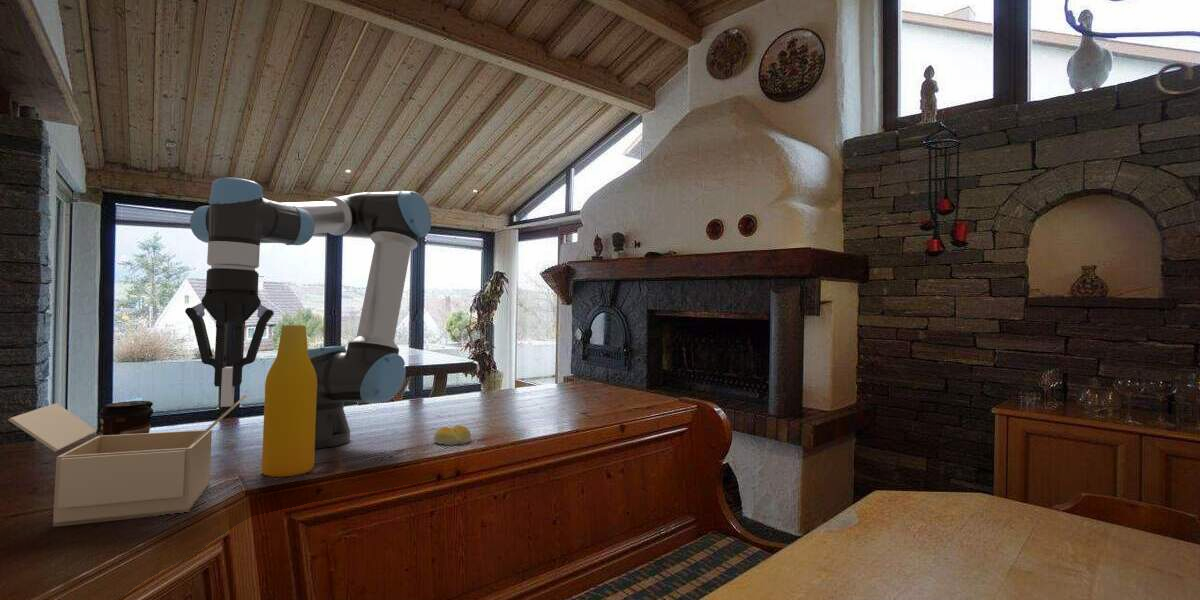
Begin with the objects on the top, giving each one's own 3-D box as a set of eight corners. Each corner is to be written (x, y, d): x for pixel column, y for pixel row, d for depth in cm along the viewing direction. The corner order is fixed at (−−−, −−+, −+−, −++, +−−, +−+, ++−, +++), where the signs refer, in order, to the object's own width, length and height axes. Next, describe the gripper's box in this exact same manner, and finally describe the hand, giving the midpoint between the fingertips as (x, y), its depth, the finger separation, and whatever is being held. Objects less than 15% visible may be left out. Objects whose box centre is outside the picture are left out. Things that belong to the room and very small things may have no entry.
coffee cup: (163, 464, 112) (166, 400, 113) (124, 476, 104) (128, 407, 104) (124, 462, 113) (128, 398, 113) (83, 474, 105) (86, 405, 105)
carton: (210, 484, 100) (212, 428, 101) (187, 514, 86) (190, 449, 86) (96, 494, 94) (99, 434, 94) (50, 528, 79) (54, 458, 79)
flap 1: (56, 402, 91) (54, 404, 91) (10, 417, 78) (7, 420, 78) (96, 430, 93) (94, 432, 93) (57, 449, 80) (55, 451, 80)
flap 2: (211, 424, 100) (213, 426, 100) (192, 441, 87) (194, 443, 87) (245, 394, 102) (247, 396, 102) (231, 406, 89) (233, 408, 89)
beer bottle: (317, 463, 116) (322, 325, 117) (310, 475, 107) (316, 326, 108) (267, 466, 113) (272, 324, 114) (255, 479, 104) (262, 325, 105)
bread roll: (430, 440, 140) (430, 424, 140) (465, 437, 144) (465, 422, 144) (438, 447, 133) (438, 430, 133) (474, 444, 137) (475, 428, 137)
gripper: (278, 272, 102) (273, 400, 101) (193, 268, 96) (186, 403, 96) (274, 269, 95) (268, 407, 94) (181, 264, 90) (174, 410, 89)
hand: (227, 405), depth 95 cm, fingers closed
